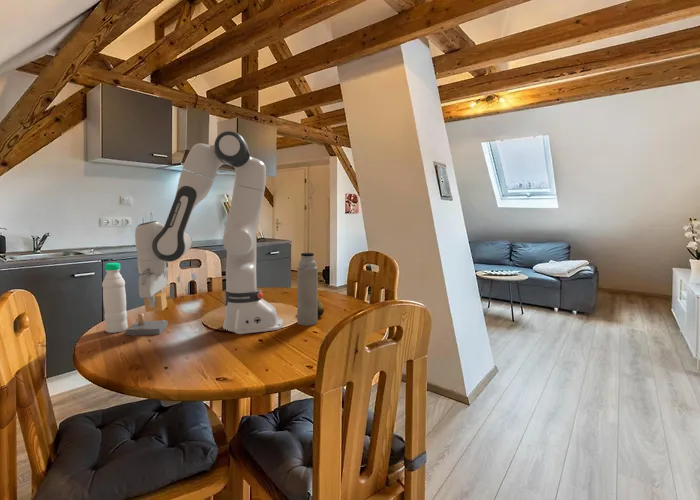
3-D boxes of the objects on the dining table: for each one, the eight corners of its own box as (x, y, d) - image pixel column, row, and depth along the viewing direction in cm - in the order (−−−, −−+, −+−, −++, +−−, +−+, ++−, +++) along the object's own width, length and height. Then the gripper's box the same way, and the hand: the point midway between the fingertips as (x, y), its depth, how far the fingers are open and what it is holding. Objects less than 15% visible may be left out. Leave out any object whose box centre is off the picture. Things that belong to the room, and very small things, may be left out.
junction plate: (167, 325, 144) (167, 310, 143) (159, 334, 134) (158, 317, 133) (136, 326, 142) (136, 311, 141) (126, 335, 132) (125, 319, 131)
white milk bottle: (117, 334, 133) (112, 265, 130) (100, 332, 135) (95, 264, 132) (132, 328, 140) (128, 262, 137) (116, 326, 141) (112, 261, 138)
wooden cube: (167, 306, 140) (165, 292, 139) (162, 310, 134) (160, 295, 134) (151, 307, 139) (149, 293, 138) (145, 312, 133) (143, 297, 133)
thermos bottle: (302, 318, 154) (302, 251, 151) (320, 320, 152) (320, 252, 148) (293, 324, 147) (293, 253, 143) (312, 326, 144) (312, 254, 141)
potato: (305, 319, 153) (305, 300, 152) (301, 310, 166) (301, 293, 165) (325, 318, 155) (325, 299, 154) (320, 309, 168) (320, 292, 167)
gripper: (151, 271, 125) (156, 311, 127) (169, 261, 145) (173, 296, 147) (131, 272, 124) (136, 312, 126) (152, 262, 144) (156, 297, 146)
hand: (156, 304), depth 136 cm, fingers closed on wooden cube, 6 cm apart
